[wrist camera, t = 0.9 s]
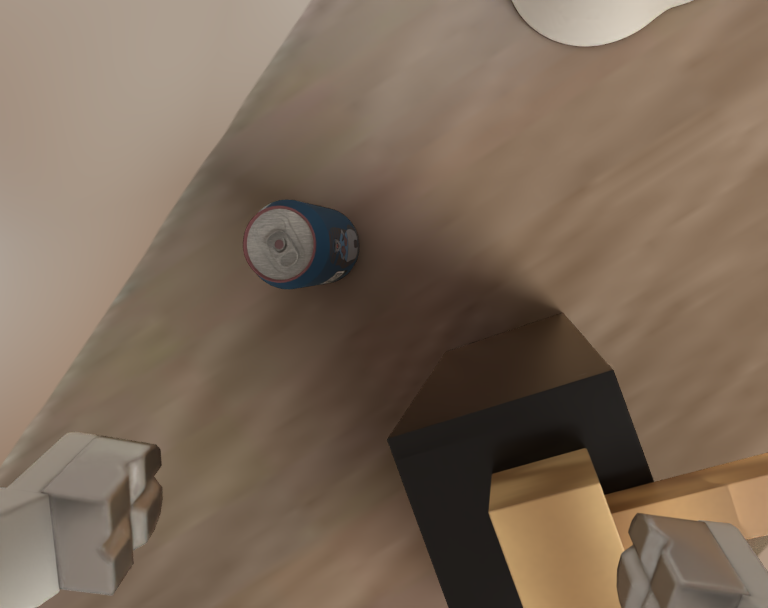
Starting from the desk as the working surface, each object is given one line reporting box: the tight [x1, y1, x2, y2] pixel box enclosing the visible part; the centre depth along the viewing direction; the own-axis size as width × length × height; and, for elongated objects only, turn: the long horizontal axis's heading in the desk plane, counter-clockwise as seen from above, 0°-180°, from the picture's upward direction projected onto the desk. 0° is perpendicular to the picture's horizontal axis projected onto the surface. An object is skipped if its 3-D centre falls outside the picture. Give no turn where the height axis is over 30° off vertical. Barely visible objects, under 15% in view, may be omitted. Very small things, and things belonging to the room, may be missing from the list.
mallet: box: [488, 448, 768, 608], centre depth 24 cm, size 15×7×4 cm, turn 111°
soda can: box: [243, 200, 359, 289], centre depth 50 cm, size 7×7×12 cm
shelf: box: [387, 313, 654, 608], centre depth 40 cm, size 11×13×26 cm
